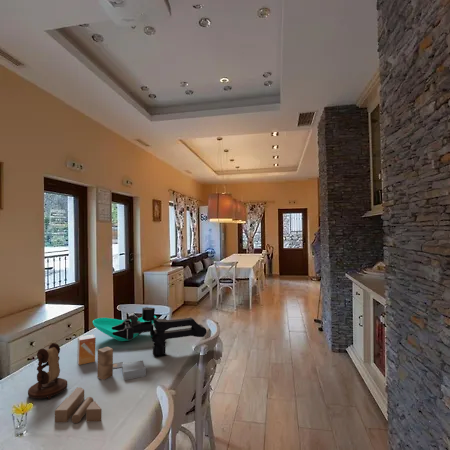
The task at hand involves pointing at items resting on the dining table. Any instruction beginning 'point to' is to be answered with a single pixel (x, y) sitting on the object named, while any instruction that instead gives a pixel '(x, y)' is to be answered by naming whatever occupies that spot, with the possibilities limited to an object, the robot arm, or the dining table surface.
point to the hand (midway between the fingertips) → (112, 330)
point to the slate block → (133, 370)
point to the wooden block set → (71, 406)
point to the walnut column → (105, 363)
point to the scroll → (48, 374)
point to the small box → (86, 349)
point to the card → (117, 365)
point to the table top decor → (108, 323)
